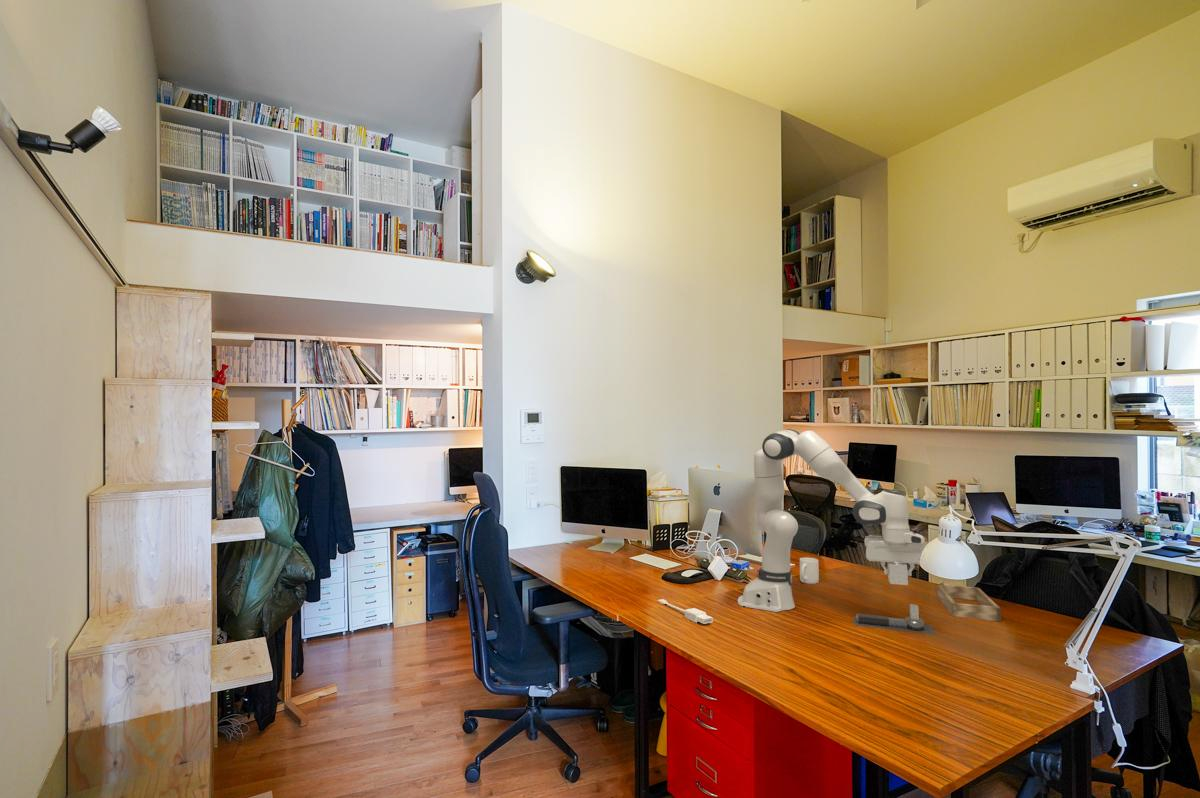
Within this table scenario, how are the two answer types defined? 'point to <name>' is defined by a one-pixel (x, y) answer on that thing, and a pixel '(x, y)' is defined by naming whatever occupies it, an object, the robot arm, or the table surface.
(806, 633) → the table surface
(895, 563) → the socket
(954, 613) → the frame
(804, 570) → the mug
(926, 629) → the tool mat
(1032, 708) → the table surface
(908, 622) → the ratchet
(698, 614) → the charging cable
